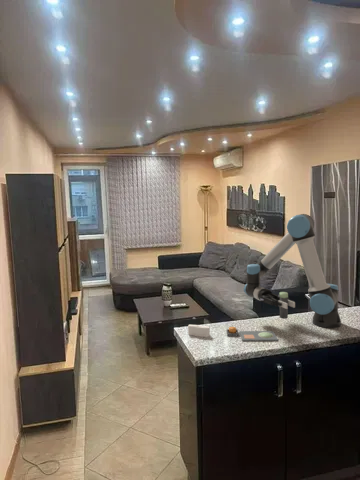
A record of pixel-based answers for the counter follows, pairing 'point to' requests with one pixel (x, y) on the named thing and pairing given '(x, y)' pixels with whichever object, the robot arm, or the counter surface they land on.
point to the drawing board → (258, 336)
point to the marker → (282, 310)
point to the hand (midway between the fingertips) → (290, 305)
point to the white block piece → (199, 330)
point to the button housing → (232, 333)
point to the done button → (232, 329)
